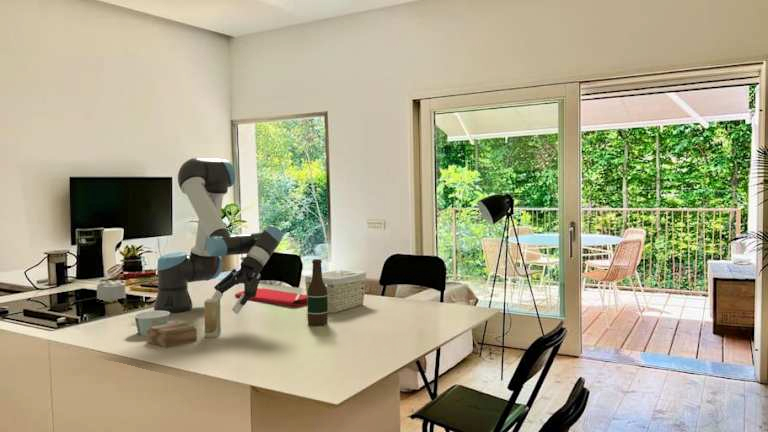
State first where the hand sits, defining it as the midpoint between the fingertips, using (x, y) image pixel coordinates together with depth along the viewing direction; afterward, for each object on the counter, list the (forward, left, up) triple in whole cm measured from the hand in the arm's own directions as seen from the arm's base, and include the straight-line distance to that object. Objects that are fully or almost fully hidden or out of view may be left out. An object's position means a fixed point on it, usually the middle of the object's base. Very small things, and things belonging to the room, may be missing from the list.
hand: (222, 309), depth 201 cm
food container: (-22, -13, -9) cm, 27 cm away
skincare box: (-1, -3, -9) cm, 9 cm away
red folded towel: (-32, +54, -9) cm, 63 cm away
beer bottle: (+17, +30, -9) cm, 35 cm away
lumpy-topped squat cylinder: (-95, +10, -9) cm, 96 cm away
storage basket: (+2, +57, -9) cm, 57 cm away
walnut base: (-5, -16, -8) cm, 19 cm away
